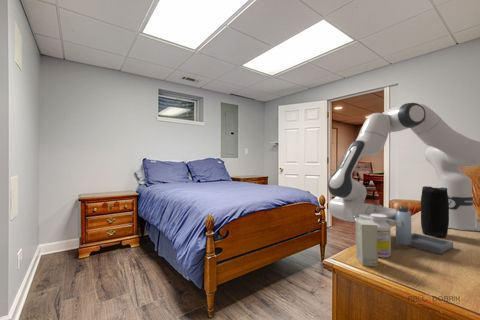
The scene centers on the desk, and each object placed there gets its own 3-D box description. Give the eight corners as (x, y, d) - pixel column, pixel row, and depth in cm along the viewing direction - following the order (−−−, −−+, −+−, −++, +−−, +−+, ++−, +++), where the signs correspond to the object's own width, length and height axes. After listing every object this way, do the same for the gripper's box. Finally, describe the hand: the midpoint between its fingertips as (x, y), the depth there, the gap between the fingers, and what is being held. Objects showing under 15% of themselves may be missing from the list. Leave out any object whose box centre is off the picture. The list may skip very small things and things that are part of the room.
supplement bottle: (370, 248, 78) (370, 211, 78) (393, 254, 74) (393, 215, 73) (363, 253, 74) (364, 215, 74) (387, 260, 69) (387, 219, 69)
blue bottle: (399, 239, 81) (398, 205, 81) (413, 243, 78) (413, 207, 78) (393, 241, 79) (393, 206, 79) (408, 245, 75) (408, 208, 75)
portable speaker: (450, 235, 91) (451, 187, 91) (444, 240, 86) (445, 189, 86) (424, 229, 98) (425, 185, 98) (417, 234, 93) (417, 187, 93)
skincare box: (378, 267, 65) (378, 225, 65) (361, 265, 66) (361, 224, 66) (370, 257, 71) (370, 219, 71) (355, 256, 72) (355, 218, 72)
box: (413, 237, 89) (413, 232, 89) (453, 248, 78) (453, 242, 78) (399, 243, 83) (399, 237, 83) (440, 255, 73) (440, 248, 73)
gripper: (350, 210, 84) (391, 218, 72) (379, 203, 94) (419, 210, 83) (351, 226, 84) (391, 238, 72) (380, 218, 94) (419, 227, 83)
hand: (406, 223), depth 77 cm, fingers closed on blue bottle, 4 cm apart
